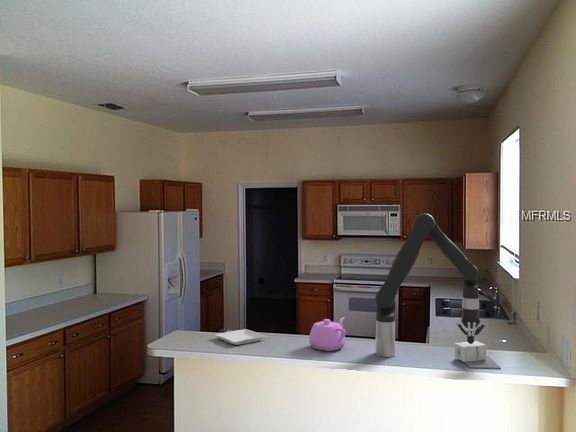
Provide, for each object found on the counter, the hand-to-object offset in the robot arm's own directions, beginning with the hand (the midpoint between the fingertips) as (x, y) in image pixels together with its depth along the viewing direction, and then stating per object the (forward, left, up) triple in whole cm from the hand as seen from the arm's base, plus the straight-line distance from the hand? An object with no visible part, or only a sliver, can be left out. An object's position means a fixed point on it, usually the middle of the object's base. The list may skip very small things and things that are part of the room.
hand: (470, 343), depth 232 cm
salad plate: (-117, +30, -10) cm, 121 cm away
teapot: (-68, +19, -9) cm, 71 cm away
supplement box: (-5, +1, -5) cm, 7 cm away
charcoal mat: (+4, 0, -9) cm, 10 cm away
